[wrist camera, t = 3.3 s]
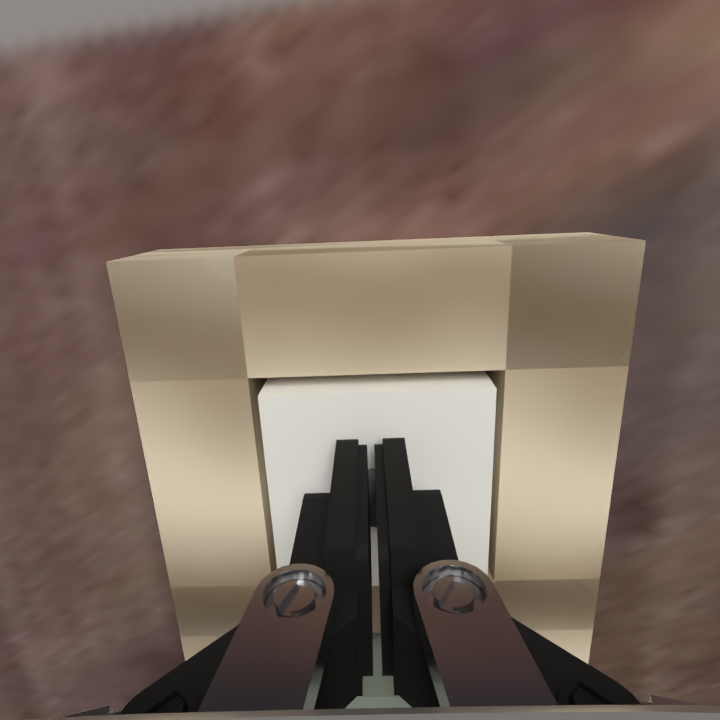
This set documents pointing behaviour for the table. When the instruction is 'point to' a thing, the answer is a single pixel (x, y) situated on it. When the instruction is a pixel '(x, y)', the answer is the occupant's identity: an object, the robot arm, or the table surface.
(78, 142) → the table surface
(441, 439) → the one dot tile
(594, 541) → the tile board
